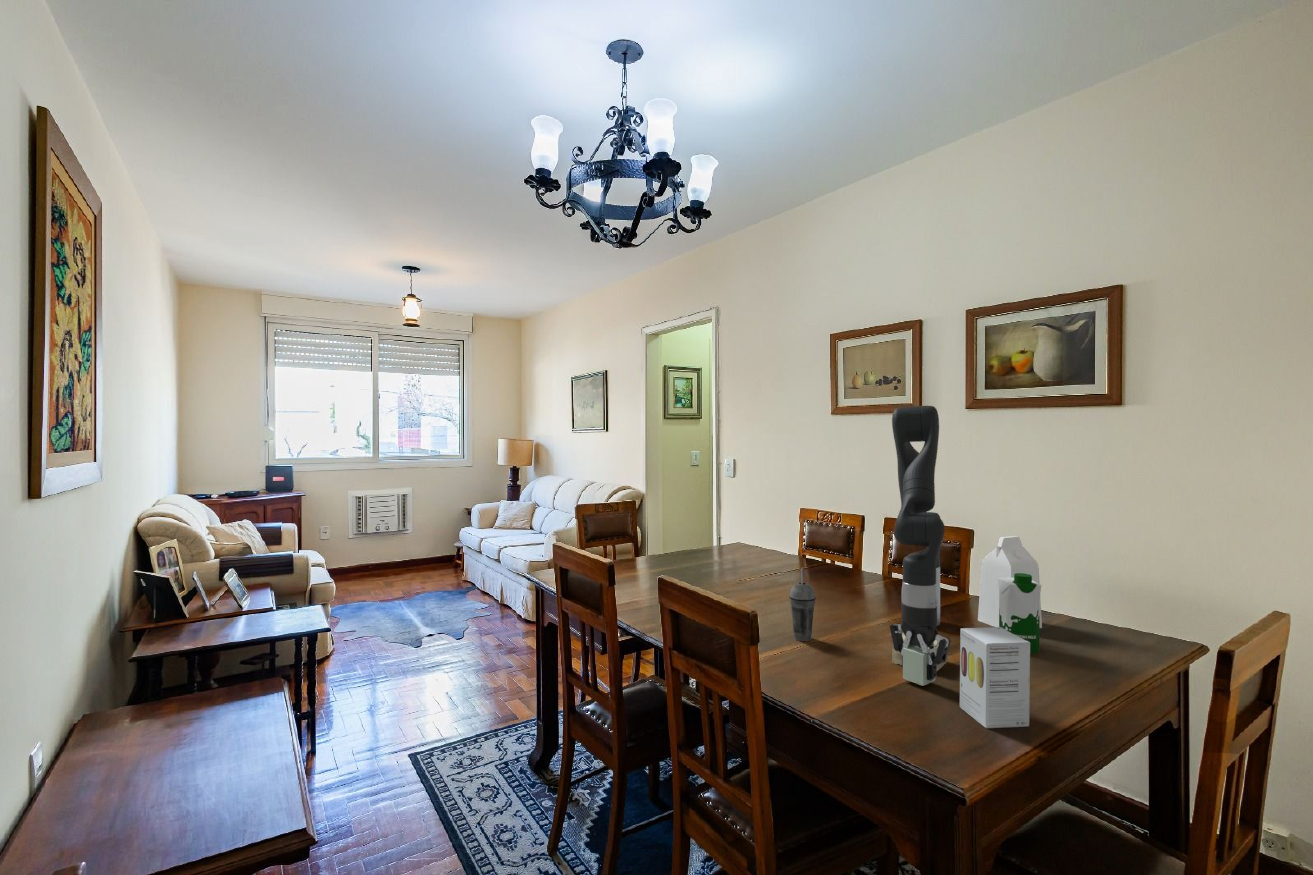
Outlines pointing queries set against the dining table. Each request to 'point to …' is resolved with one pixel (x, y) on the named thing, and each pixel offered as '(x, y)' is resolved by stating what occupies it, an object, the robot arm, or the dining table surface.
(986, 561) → the milk
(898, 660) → the beige box
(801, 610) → the beverage cup
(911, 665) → the block
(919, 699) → the dining table surface
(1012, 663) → the supplement box
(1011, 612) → the milk carton
